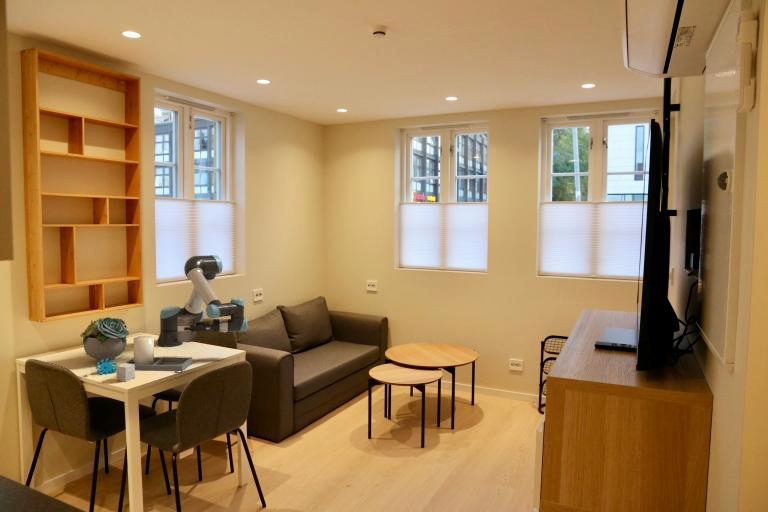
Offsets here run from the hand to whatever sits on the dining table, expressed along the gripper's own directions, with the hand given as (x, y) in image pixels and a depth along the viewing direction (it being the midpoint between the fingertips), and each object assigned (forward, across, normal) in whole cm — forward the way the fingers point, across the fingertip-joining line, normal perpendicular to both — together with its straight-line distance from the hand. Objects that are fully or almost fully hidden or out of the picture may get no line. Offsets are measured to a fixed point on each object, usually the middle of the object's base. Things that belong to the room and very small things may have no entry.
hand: (178, 326), depth 298 cm
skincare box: (+23, -31, -20) cm, 43 cm away
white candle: (+17, -11, -18) cm, 27 cm away
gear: (+32, -21, -20) cm, 43 cm away
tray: (+9, -13, -19) cm, 25 cm away
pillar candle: (-4, 0, -8) cm, 9 cm away
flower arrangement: (+38, +6, -20) cm, 44 cm away
